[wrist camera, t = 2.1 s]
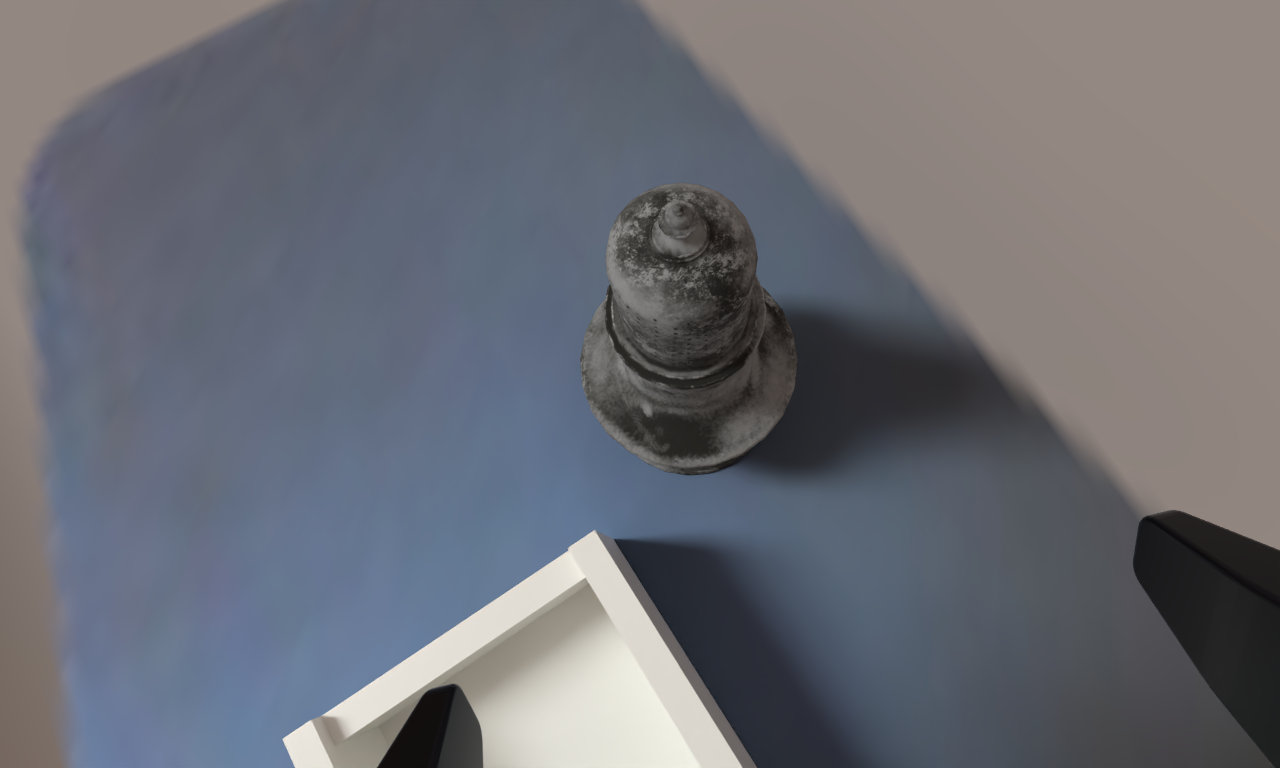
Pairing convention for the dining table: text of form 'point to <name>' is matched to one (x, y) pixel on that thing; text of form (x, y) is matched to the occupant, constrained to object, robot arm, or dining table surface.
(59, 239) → the dining table surface
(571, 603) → the box
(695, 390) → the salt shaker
